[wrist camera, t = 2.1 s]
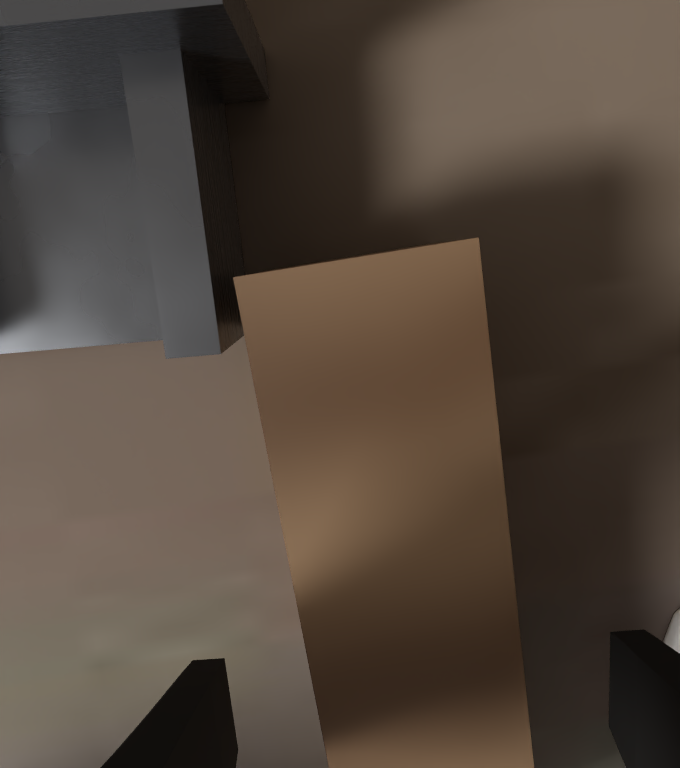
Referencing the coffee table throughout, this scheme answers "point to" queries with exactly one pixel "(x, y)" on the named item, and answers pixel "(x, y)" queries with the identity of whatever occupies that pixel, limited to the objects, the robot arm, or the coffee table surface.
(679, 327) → the coffee table surface
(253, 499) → the coffee table surface
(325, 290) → the brown long rectangular block
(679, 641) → the decorative candle
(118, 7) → the bracket
